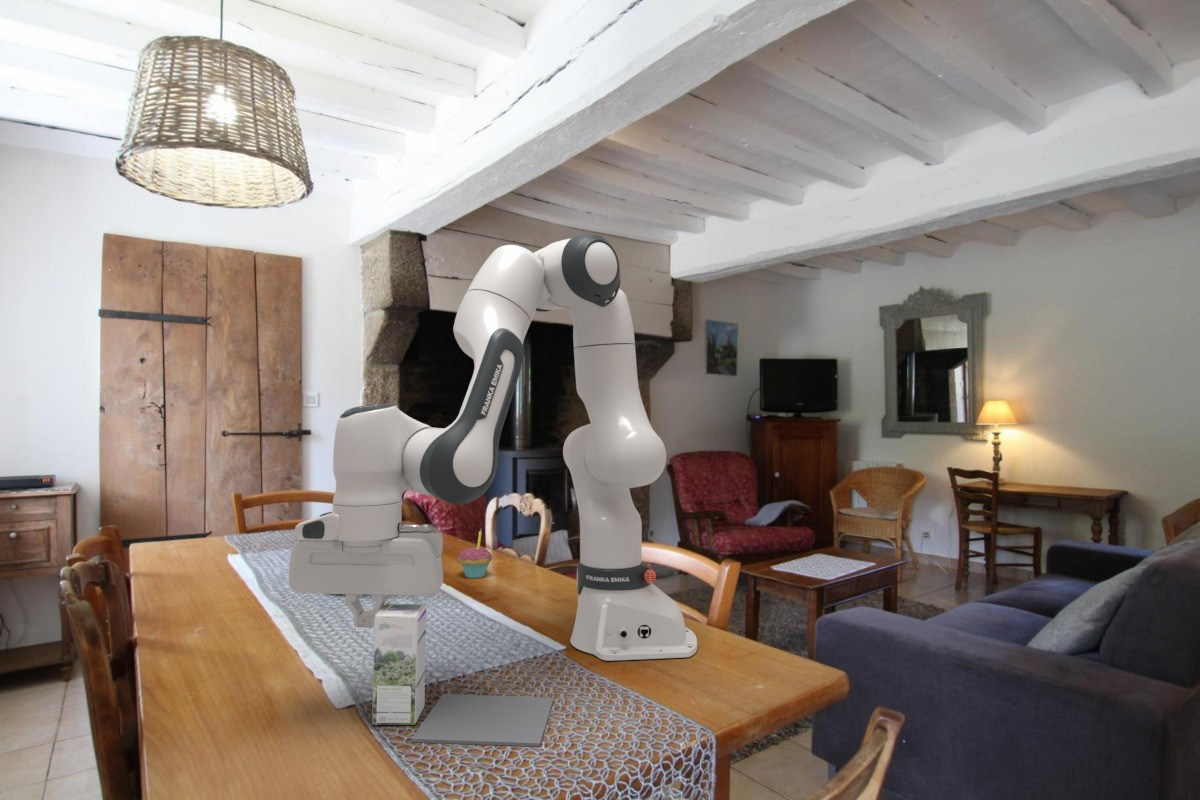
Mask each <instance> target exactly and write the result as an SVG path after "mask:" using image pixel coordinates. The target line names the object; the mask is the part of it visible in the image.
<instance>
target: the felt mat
mask: <svg viewBox="0 0 1200 800" xmlns="http://www.w3.org/2000/svg"><path fill="white" fill-rule="evenodd" d="M554 699H555V697H545V696H542V697H541V696H515V695H513V696H511V695H482V694H481V695H480V694H479V695H478V694H458V693H457V694H455V693H454V694H452V693H451V694H450V693H443V694H442V695H441V696H440V697H439V699H438V700H437V702H436V703H435V704H434V706H433V708H432V709H431V710H430V712H429V713H428V715H427V716H426V717H425V719H424V721H423V722H422V723H421V725H420V726H419V727H418V729H417V730H416V731H415V733H414V734H413V736H412V737H411V743H426V744H429V743H430V744H452V745H453V744H455V745H456V744H458V745H459V744H460V745H479V746H481V745H482V746H483V745H484V746H488V745H489V746H509V747H511V746H512V747H513V746H514V747H515V746H516V747H539V748H540V747H541V744H542V740H543V737H544V733H545V730H546V728H545V727H547V725H548V724H547V723H548V720H549V718H550V713H551V710H552V707H553V704H554Z"/></svg>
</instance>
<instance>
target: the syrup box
mask: <svg viewBox="0 0 1200 800" xmlns="http://www.w3.org/2000/svg"><path fill="white" fill-rule="evenodd" d="M427 607H428V606H427V603H385V604H384V606H383V607H381V608H380V610H379V611H378V612H377V613H376V615H375V617H374V627H373V663H372V664H373V665H372V666H373V667H372V670H373V671H372V711H371V712H372V715H371V719H372V721H371V723H372V725H373V726H414V725H416V723H417V722H418V720H419V717H420V716H421V714H422V712H423V709H424V708H425V702H426V701H425V700H426V699H425V698H426V697H425V691H426V690H425V686H426V685H425V683H426V682H425V677H426V676H425V673H426V646H427V645H426V641H427V616H428V615H427V613H428V612H427V611H428V610H427Z"/></svg>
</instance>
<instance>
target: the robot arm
mask: <svg viewBox="0 0 1200 800" xmlns="http://www.w3.org/2000/svg"><path fill="white" fill-rule="evenodd" d="M620 286H621V265H620V261H619V258H618V255H617V253H616V250H615V249H614V247H613V246H612V244H611V242H610V241H609V240H608V239H606V238H605V237H603V236H601V235H598V234H588V233H587V234H578V235H575V236H573V237H571V238H565V239H561V240H558V241H553V242H552V243H549V244H548V245H547V246H544V247H542V248H540V249H537V251H536V250H535V251H534V252H532V251H531V250H530V249H527V248H526V247H523V246H520V245H516V244H505V245H504V244H503V245H501V246H499V247H497V248H495V250H493V251H492V253H491V254H490V255H489V256H488V257H487V259H486V260H485V261H484V263H483V264H482V266H481V267H480V269H479V270H478V272H477V273H476V275H475V276H474V277H473V280H472V281H471V283H470V284H469V286H468V289H467V290H466V292H465V294H464V297H463V298H462V300H461V302H460V305H459V306H458V309H457V313H456V315H455V318H454V324H453V329H452V331H453V335H454V339H455V341H456V342H457V344H458V346H459V348H460V349H461V350H462V352H463V353H464V354H466V355H467V356H468V357H469V358H471V359H472V361H473V364H474V369H473V373H472V377H471V380H470V382H469V385H468V388H467V391H466V394H465V396H464V399H463V402H462V405H461V407H460V409H459V413H458V415H457V417H456V419H455V420H453V422H452V423H451V424H449V425H448V426H447V427H445V428H442V427H440V428H439V427H432V426H430V425H428V424H427V423H423V422H421V421H419V420H417V419H416V418H415V419H414V418H413V417H410V416H409V415H407V414H406V413H404V412H403V411H402V410H400V408H398V406H397V405H396V404H395V403H389V402H388V403H387V402H381V403H376V404H372V403H371V404H365V405H360V406H359V405H358V406H354V407H351V408H348V409H347V410H345V411H344V412H343V413H341V415H340V416H339V418H338V421H337V424H336V428H335V432H334V433H335V434H334V440H333V455H332V456H333V457H332V458H333V459H332V461H333V462H332V463H333V464H332V471H333V475H334V479H335V492H334V494H333V498H332V511H328V512H324V513H322V514H320V515H319V516H315V517H313V518H310V519H307V520H304V521H302V522H299V523H298V524H297V525H295V528H294V535H295V538H296V539H297V540H298V541H296V543H294V545H293V547H292V548H291V551H290V556H289V557H290V558H289V567H288V585H289V587H290V589H291V590H292V592H293V593H295V594H325V595H326V594H329V595H330V594H332V595H334V594H335V595H345V603H346V606H347V607H348V609H349V611H350V612H351V614H352V615H353V627H354V628H374V617H375V615H376V613H377V612H378V611H379V610H380V608H381V607H383V606H384V605H385V604H386V602H387V600H388V599H389V598H388V597H389V596H390V595H391V596H428V597H429V596H433V595H434V594H435V593H436V592H438V590H439V589H440V588H441V587H442V586H443V583H444V570H443V561H442V560H443V559H442V554H443V550H444V536H443V533H442V532H441V530H440V529H438V528H436V527H434V526H433V524H430V523H422V524H415V523H402V511H403V510H402V507H403V505H402V500H403V494H404V493H405V492H407V491H409V492H414V493H418V494H420V495H424V496H429V497H434V498H435V499H439V500H441V501H444V502H445V503H449V504H452V505H465V504H469V503H472V502H474V501H476V500H477V499H479V498H481V496H483V495H484V494H485V493H486V492H487V491H488V490H489V488H490V486H491V485H492V483H493V481H494V479H495V476H496V474H497V473H496V472H497V468H498V460H499V459H498V458H499V445H500V439H501V436H502V435H501V434H502V431H503V427H504V424H505V421H506V419H507V415H508V412H509V409H510V406H511V403H512V399H513V396H514V393H515V389H516V387H517V383H518V380H519V377H520V374H521V370H522V366H523V360H524V345H523V344H524V341H525V338H526V335H527V333H528V330H529V328H530V325H531V323H532V321H533V319H534V316H535V313H536V312H541V313H542V312H544V313H545V312H550V311H553V310H556V311H557V310H561V309H562V310H563V309H566V310H567V312H568V314H569V315H570V318H571V321H572V324H573V325H572V327H573V328H572V331H573V332H572V333H573V334H572V338H573V339H572V341H573V342H572V343H573V357H574V358H573V359H574V373H575V374H574V375H575V386H576V387H575V388H576V389H575V390H576V392H577V395H578V397H579V398H580V399H581V401H582V402H583V404H584V407H585V409H586V411H587V415H588V419H589V421H590V423H588V424H586V425H585V424H584V425H582V426H580V427H578V428H576V429H574V430H573V431H571V432H570V433H569V434H568V435H567V437H566V439H565V441H564V444H563V447H562V448H563V449H562V456H563V460H564V463H565V465H566V466H567V469H569V472H570V475H571V480H572V484H573V488H574V489H573V490H574V493H575V499H576V504H577V508H578V515H579V561H578V563H577V568H576V590H577V594H578V597H577V598H578V601H577V609H576V613H575V614H576V616H575V620H574V624H573V625H574V626H573V630H572V633H571V636H570V639H569V640H570V644H571V645H572V646H573V647H574V648H575V649H577V650H579V651H581V652H583V653H584V652H585V653H588V654H590V655H594V656H595V657H597V658H598V659H600V660H603V661H609V662H610V661H611V662H612V661H615V662H616V661H630V660H631V661H633V660H655V659H656V660H657V659H660V660H661V659H676V658H677V659H678V658H680V659H681V658H690V657H692V656H693V655H695V654H696V652H697V650H698V639H697V636H696V634H695V632H694V631H692V630H691V629H690V628H688V627H686V626H685V625H686V624H685V619H684V616H683V613H682V610H681V607H680V605H678V603H677V602H676V601H675V600H674V599H673V598H671V597H670V596H669V595H668V594H666V593H665V592H664V591H662V590H661V589H660V588H659V587H657V586H656V585H655V583H654V582H655V581H656V579H657V576H656V572H655V570H654V568H653V567H652V566H651V564H650V563H646V562H645V561H643V559H642V553H643V552H642V550H643V549H642V548H643V547H642V546H643V544H642V543H643V541H642V535H643V534H642V532H643V531H642V528H643V526H642V525H643V524H642V523H643V522H642V518H641V516H640V512H639V511H638V509H637V508H636V507H635V504H634V502H633V498H632V495H631V491H630V489H632V488H633V489H634V488H639V487H645V486H648V485H650V484H653V483H654V482H655V481H656V480H658V478H660V476H661V475H662V473H663V472H664V469H665V468H666V462H667V451H666V447H665V444H664V442H663V440H662V439H661V437H660V436H659V435H658V434H657V432H656V431H655V430H654V429H653V427H652V425H651V422H650V420H649V417H648V414H647V412H646V408H645V406H644V402H643V399H642V396H641V391H640V385H639V380H638V368H637V367H638V366H637V354H636V340H635V338H636V337H635V331H634V324H633V318H632V313H631V310H630V306H629V305H630V304H629V301H628V297H627V295H626V293H625V292H624V291H623V290H622V289H621V288H620ZM363 595H371V602H372V603H375V604H374V605H373V607H372V609H371V610H365V609H364V607H363V605H362V603H361V601H360V599H361V598H362V597H363Z"/></svg>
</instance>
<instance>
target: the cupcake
mask: <svg viewBox="0 0 1200 800" xmlns="http://www.w3.org/2000/svg"><path fill="white" fill-rule="evenodd" d="M481 542H482V529H480V531H478V538H477V546H475V547H474V546H472V547H467V548H464V549H463V550H461V552H459V554H458V555H457V558H456V561H457V563H458V564H461V567H462V569H463V573H464V576H465V577H466V578H468V579H479V578H484V577H485V576H486V572H487V569H488V566H489V564H490V563H491V562H492V560H493V559H492V558H493V555H492V554H491V552H490V551H489V550H488V549H487V548H484V547H481Z"/></svg>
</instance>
